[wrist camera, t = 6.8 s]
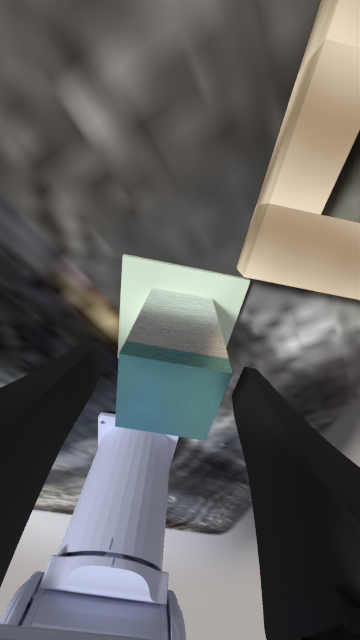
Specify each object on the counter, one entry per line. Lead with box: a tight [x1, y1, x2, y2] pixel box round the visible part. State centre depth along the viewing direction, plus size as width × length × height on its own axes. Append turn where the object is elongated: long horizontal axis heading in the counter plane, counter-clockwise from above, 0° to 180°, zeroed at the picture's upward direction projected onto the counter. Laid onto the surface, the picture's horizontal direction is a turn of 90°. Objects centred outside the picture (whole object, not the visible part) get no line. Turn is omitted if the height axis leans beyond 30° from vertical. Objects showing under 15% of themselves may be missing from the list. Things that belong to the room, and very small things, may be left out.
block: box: [115, 287, 233, 440], centre depth 11 cm, size 4×4×7 cm
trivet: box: [118, 254, 251, 359], centre depth 14 cm, size 8×8×1 cm
